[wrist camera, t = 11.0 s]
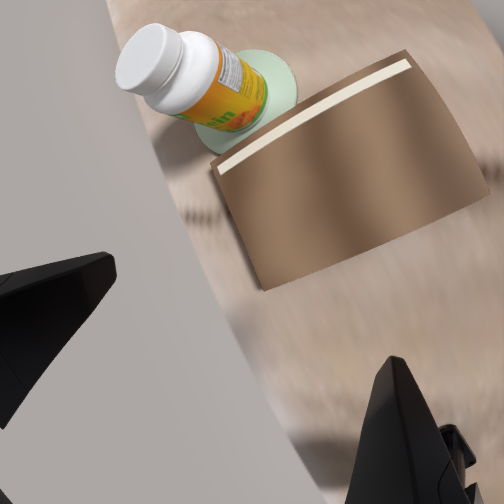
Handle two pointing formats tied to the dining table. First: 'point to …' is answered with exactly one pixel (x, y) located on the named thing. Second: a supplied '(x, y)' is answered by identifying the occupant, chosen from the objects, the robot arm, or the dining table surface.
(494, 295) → the dining table surface
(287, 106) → the end pad
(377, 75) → the walnut board
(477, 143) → the dining table surface
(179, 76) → the supplement bottle
